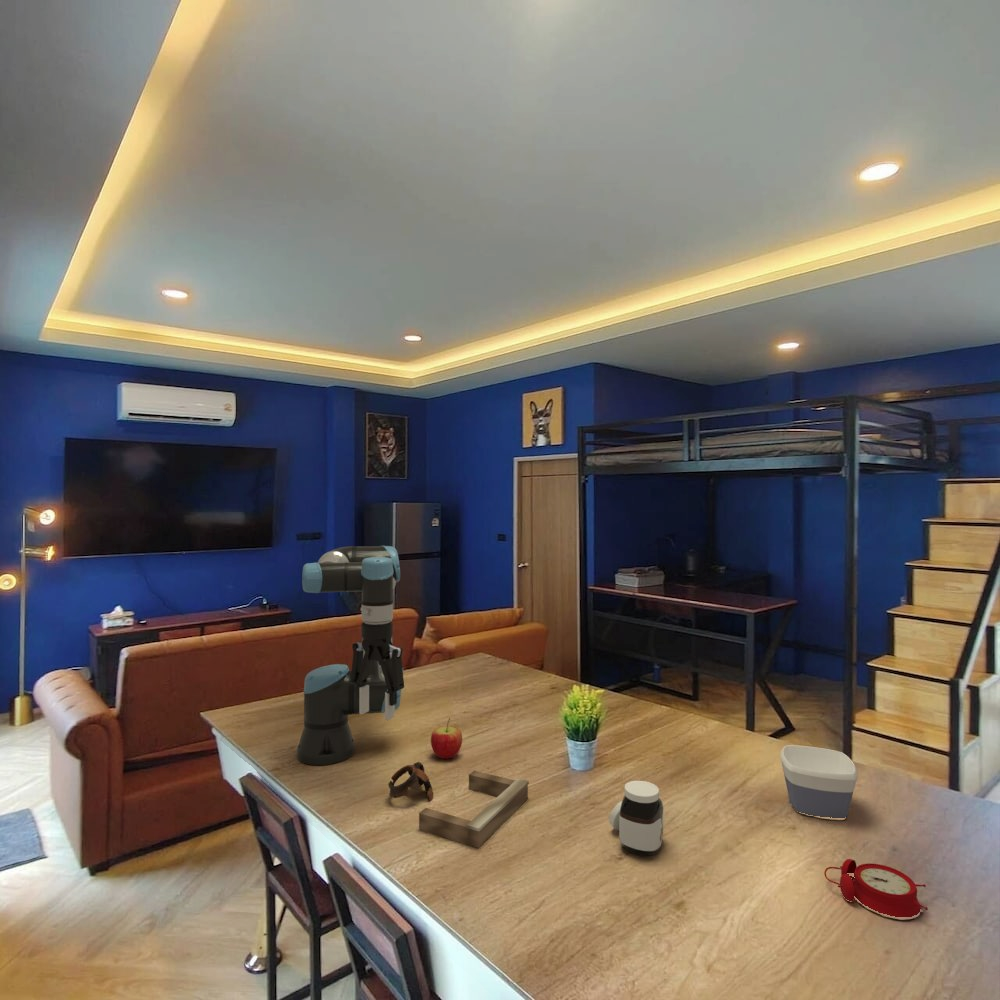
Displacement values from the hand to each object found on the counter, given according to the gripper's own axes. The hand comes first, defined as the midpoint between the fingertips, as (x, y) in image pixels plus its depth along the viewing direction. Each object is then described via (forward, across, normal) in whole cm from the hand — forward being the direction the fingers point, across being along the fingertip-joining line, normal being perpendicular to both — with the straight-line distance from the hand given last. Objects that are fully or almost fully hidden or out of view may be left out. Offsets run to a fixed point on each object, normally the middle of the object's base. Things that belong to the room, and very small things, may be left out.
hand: (376, 715), depth 149 cm
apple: (+17, +6, +22) cm, 29 cm away
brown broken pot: (+17, +11, 0) cm, 21 cm away
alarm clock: (+17, +104, +8) cm, 106 cm away
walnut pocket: (+17, +28, 0) cm, 33 cm away
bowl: (+17, +95, +39) cm, 104 cm away
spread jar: (+17, +62, +6) cm, 65 cm away
